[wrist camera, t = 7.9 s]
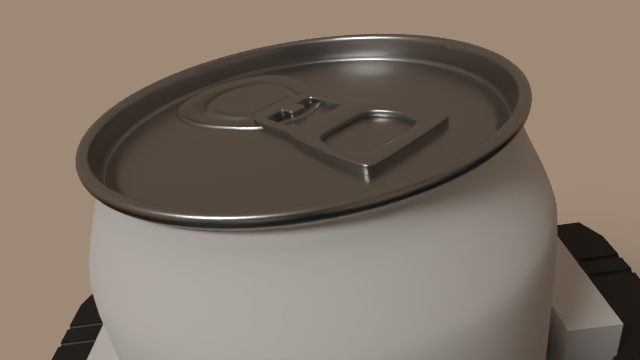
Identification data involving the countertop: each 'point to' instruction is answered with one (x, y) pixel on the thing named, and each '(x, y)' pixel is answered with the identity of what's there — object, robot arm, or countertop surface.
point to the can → (324, 207)
